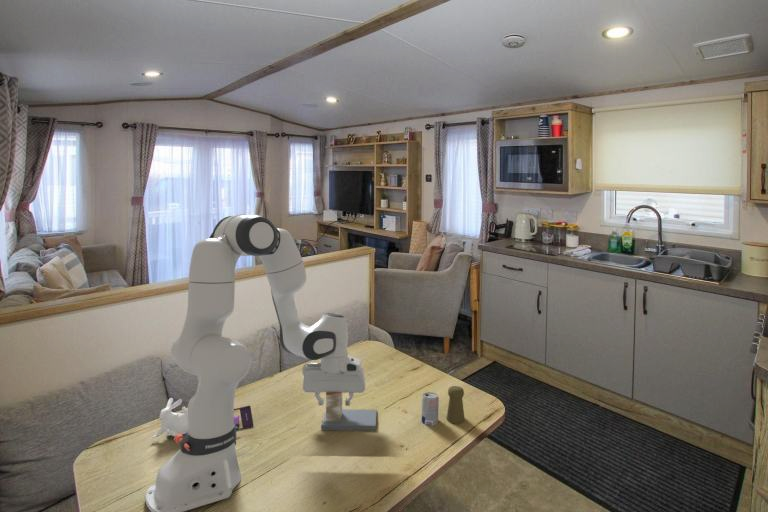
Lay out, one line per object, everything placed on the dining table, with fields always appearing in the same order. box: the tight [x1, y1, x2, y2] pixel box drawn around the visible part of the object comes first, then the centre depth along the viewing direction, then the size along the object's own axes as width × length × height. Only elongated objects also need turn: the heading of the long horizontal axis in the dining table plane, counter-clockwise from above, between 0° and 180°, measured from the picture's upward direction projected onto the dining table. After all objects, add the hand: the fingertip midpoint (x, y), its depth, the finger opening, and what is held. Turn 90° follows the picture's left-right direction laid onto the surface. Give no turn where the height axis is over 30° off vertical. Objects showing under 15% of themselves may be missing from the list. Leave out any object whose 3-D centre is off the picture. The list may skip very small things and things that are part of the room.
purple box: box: [234, 405, 254, 431], centre depth 135 cm, size 7×5×9 cm
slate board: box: [320, 408, 378, 431], centre depth 138 cm, size 17×12×2 cm
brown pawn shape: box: [446, 385, 466, 425], centre depth 139 cm, size 6×6×11 cm
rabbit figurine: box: [151, 397, 188, 439], centre depth 131 cm, size 12×8×10 cm, turn 98°
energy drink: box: [421, 391, 440, 427], centre depth 139 cm, size 5×5×12 cm
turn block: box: [325, 392, 343, 421], centre depth 138 cm, size 4×6×9 cm
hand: (334, 404), depth 138 cm, fingers open, 7 cm apart
